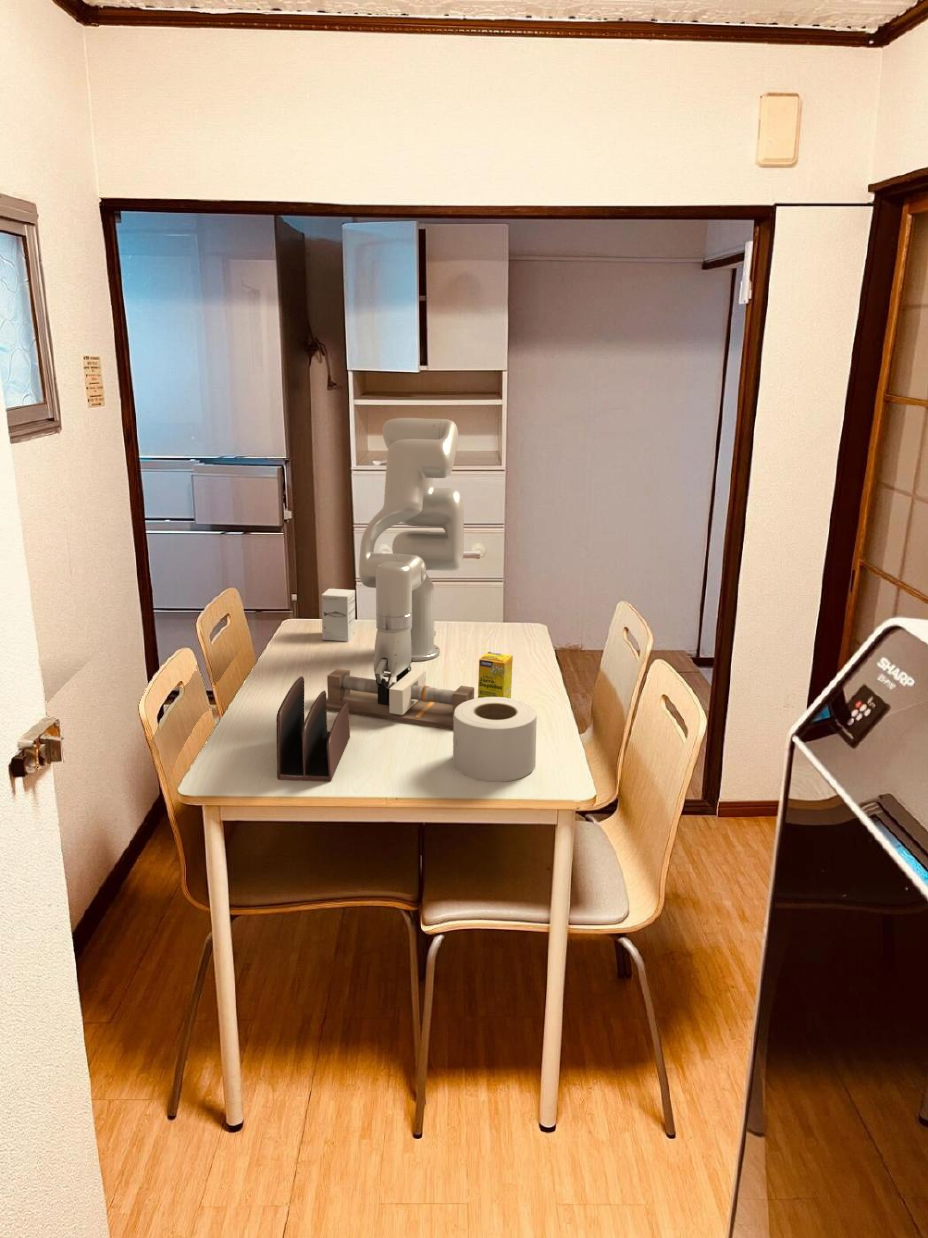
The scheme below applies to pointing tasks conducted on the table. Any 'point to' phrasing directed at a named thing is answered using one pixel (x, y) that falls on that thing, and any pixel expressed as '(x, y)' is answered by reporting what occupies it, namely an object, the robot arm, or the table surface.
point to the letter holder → (309, 738)
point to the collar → (405, 691)
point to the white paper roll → (494, 739)
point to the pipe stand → (363, 700)
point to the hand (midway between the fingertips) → (394, 696)
